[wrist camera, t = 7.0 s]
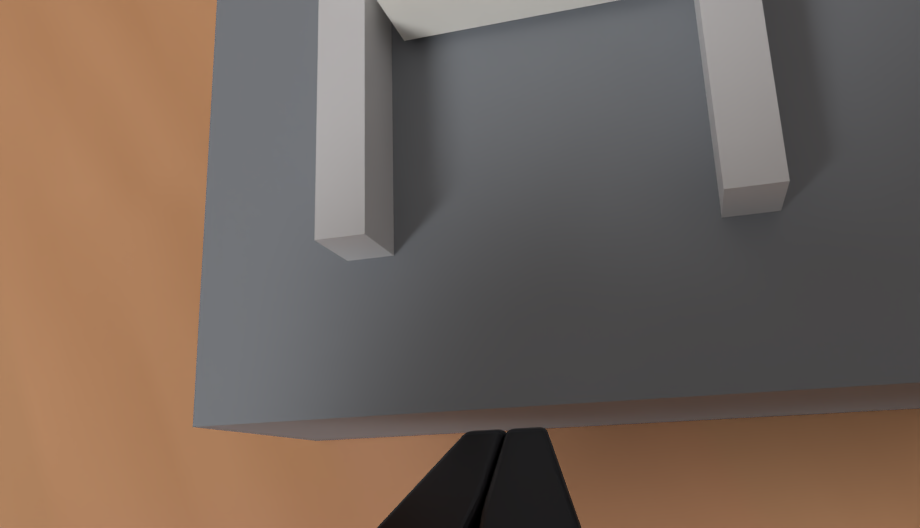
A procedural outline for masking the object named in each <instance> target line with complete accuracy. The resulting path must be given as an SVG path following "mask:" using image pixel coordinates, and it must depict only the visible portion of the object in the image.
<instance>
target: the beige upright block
mask: <svg viewBox="0 0 920 528" xmlns="http://www.w3.org/2000/svg"><path fill="white" fill-rule="evenodd" d="M377 1H378V3H379V4H380V6H381V7H382V9H383V10H384V12H385V13H386V15H387V16H388V18H389V19H390V21H391V22H392V24H393V25H394V26H395V28H396V29H397V31H398V32H399V34H400V35H401V37H402V38H403V40H404V41H406V40H412V39H417V38H422V37H427V36H433V35H438V34H443V33H449V32H454V31H459V30H464V29H470V28H475V27H480V26H486V25H491V24H496V23H501V22H507V21H512V20H517V19H523V18H528V17H533V16H538V15H544V14H549V13H554V12H560V11H565V10H570V9H576V8H581V7H586V6H591V5H597V4H602V3H607V2H613V1H618V0H377Z"/></svg>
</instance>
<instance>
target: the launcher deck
mask: <svg viewBox="0 0 920 528" xmlns="http://www.w3.org/2000/svg"><path fill="white" fill-rule="evenodd" d="M916 408H920V0H618V1H613V2H607V3H602V4H597V5H591V6H586V7H581V8H576V9H570V10H565V11H560V12H554V13H549V14H544V15H538V16H533V17H528V18H523V19H517V20H512V21H507V22H501V23H496V24H491V25H486V26H480V27H475V28H470V29H464V30H459V31H454V32H449V33H443V34H438V35H433V36H427V37H422V38H417V39H412V40H406V41H404V40H403V38H402V37H401V35H400V34H399V32H398V31H397V29H396V28H395V26H394V25H393V24H392V22H391V21H390V19H389V18H388V16H387V15H386V13H385V12H384V10H383V9H382V7H381V6H380V4H379V3H378V1H377V0H217V12H216V29H215V47H214V65H213V82H212V100H211V117H210V135H209V153H208V170H207V188H206V205H205V223H204V241H203V258H202V276H201V293H200V311H199V329H198V346H197V364H196V381H195V399H194V417H193V427H198V428H207V429H216V430H225V431H234V432H243V433H252V434H261V435H270V436H279V437H288V438H297V439H306V440H315V441H320V440H338V439H357V438H376V437H394V436H413V435H431V434H450V433H467V432H469V431H476V430H494V429H501V430H503V431H506V430H510V429H513V428H530V427H543V428H562V427H581V426H599V425H618V424H637V423H655V422H674V421H693V420H711V419H730V418H749V417H767V416H786V415H805V414H823V413H842V412H860V411H879V410H898V409H916Z"/></svg>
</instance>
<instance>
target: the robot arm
mask: <svg viewBox="0 0 920 528" xmlns="http://www.w3.org/2000/svg"><path fill="white" fill-rule="evenodd" d="M377 528H581V525H580V522H579V520H578V517H577V514H576V511H575V508H574V505H573V503H572V500H571V497H570V494H569V491H568V488H567V486H566V483H565V480H564V477H563V474H562V471H561V469H560V466H559V463H558V460H557V457H556V454H555V451H554V449H553V446H552V443H551V440H550V437H549V435H548V432H547V430H546V429H545V428H543V427H530V428H513V429H510V430H509V431H508V432H507V433H506V432H504V431H503V430H501V429H494V430H476V431H469V432H467V433H466V434H464V435H463V436H462V437H461V438H460V439H459V440H458V441H457V442H456V444H455V445H454V446H453V447H452V448H451V449H450V450H449V451H448V452H447V453H446V454H445V455H444V456H443V457H442V459H441V460H440V461H439V462H438V463H437V464H436V465H435V466H434V467H433V468H432V469H431V470H430V471H429V473H428V474H427V475H426V476H425V477H424V478H423V479H422V480H421V481H420V482H419V483H418V484H417V485H416V486H415V488H414V489H413V490H412V491H411V492H410V493H409V494H408V495H407V496H406V497H405V498H404V499H403V500H402V502H401V503H400V504H399V505H398V506H397V507H396V508H395V509H394V510H393V511H392V512H391V513H390V514H389V515H388V517H387V518H386V519H385V520H384V521H383V522H382V523H381V524H380V525H379V526H378V527H377Z"/></svg>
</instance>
